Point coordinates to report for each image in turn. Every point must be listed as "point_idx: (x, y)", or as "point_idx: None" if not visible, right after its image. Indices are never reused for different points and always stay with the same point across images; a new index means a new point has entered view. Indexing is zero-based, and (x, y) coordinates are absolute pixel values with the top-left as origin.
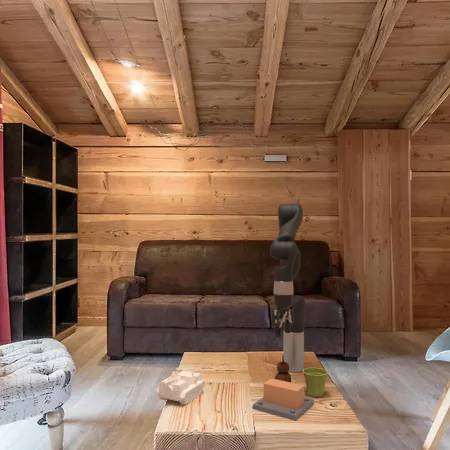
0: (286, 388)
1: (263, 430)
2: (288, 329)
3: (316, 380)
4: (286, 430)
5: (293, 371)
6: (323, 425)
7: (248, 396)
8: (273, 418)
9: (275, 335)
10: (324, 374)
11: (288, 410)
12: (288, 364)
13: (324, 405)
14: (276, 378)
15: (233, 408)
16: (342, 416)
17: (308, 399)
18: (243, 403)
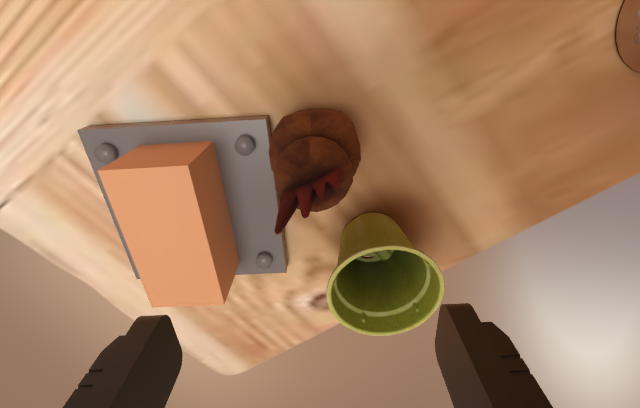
0: (140, 269)
1: (16, 232)
2: (451, 380)
3: (342, 295)
4: (76, 275)
5: (618, 40)
6: (181, 324)
7: (164, 33)
8: (98, 218)
9: (135, 324)
10: (366, 332)
11: None
12: (335, 204)
13: (300, 287)
14: (271, 141)
15: (19, 59)
16: (265, 338)
17: (264, 267)
18: (90, 63)
